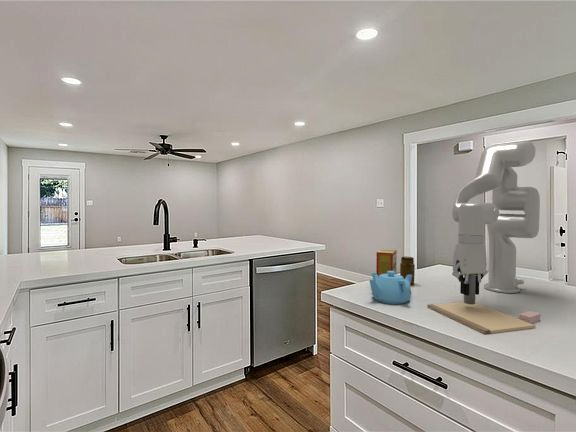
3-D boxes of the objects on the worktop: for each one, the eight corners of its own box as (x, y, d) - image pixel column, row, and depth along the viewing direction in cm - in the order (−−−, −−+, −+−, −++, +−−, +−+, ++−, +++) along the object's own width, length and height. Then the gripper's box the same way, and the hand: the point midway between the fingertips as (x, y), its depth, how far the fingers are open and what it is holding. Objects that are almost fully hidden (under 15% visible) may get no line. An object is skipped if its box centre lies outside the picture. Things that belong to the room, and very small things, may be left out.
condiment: (409, 281, 151) (409, 255, 150) (421, 286, 143) (421, 258, 142) (395, 282, 149) (395, 256, 149) (406, 287, 141) (406, 259, 140)
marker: (469, 301, 113) (470, 266, 112) (478, 304, 109) (478, 268, 109) (460, 301, 112) (461, 267, 111) (469, 304, 108) (469, 269, 108)
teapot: (367, 303, 119) (367, 274, 119) (371, 292, 133) (372, 266, 133) (411, 308, 114) (412, 277, 113) (411, 296, 128) (412, 268, 127)
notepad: (470, 303, 118) (470, 300, 118) (535, 327, 95) (535, 324, 95) (427, 307, 114) (427, 304, 114) (484, 334, 90) (484, 330, 90)
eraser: (529, 318, 103) (529, 310, 103) (540, 321, 101) (540, 313, 101) (519, 321, 100) (519, 314, 100) (530, 325, 98) (530, 317, 98)
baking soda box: (392, 290, 135) (392, 252, 135) (376, 288, 138) (376, 251, 138) (396, 285, 144) (396, 249, 143) (381, 283, 147) (381, 248, 146)
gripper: (481, 238, 115) (480, 289, 116) (442, 239, 111) (441, 292, 112) (500, 240, 108) (499, 295, 109) (458, 241, 104) (457, 298, 105)
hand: (469, 293), depth 110 cm, fingers closed on marker, 3 cm apart
